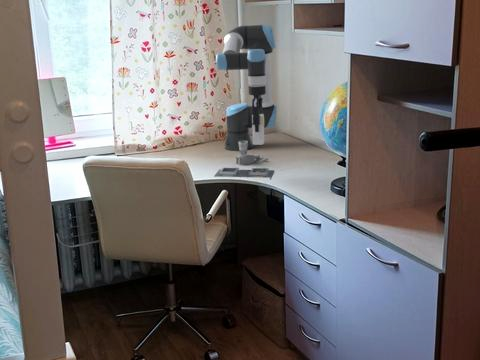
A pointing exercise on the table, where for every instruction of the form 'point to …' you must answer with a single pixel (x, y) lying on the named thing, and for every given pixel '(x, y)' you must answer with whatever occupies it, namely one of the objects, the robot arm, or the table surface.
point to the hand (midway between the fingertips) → (258, 137)
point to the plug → (260, 141)
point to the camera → (247, 155)
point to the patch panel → (245, 172)
